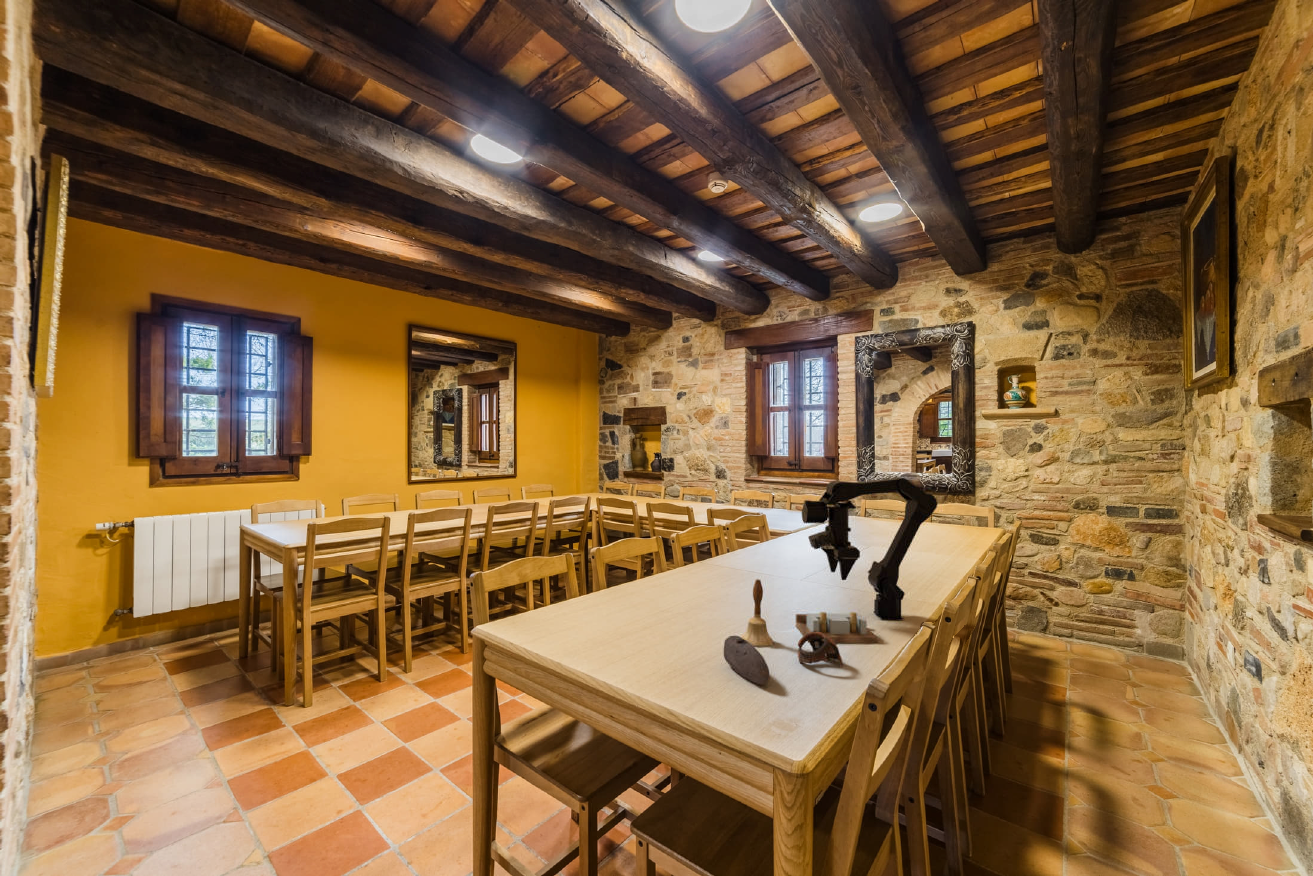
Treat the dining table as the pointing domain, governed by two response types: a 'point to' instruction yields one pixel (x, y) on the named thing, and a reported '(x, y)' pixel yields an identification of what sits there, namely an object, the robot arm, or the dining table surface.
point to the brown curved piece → (818, 649)
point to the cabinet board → (837, 638)
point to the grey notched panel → (836, 623)
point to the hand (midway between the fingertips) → (838, 576)
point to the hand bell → (757, 621)
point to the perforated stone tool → (746, 660)
